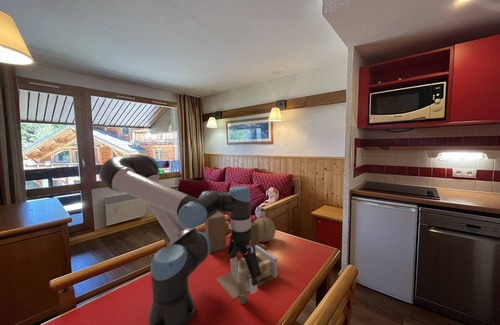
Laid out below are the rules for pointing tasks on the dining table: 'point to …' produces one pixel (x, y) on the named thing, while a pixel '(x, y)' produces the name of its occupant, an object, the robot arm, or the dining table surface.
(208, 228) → the block
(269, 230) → the cantaloupe
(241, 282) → the dowel
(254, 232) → the wooden block
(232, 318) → the dining table surface
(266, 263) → the oak block
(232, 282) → the jig board
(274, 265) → the wall
